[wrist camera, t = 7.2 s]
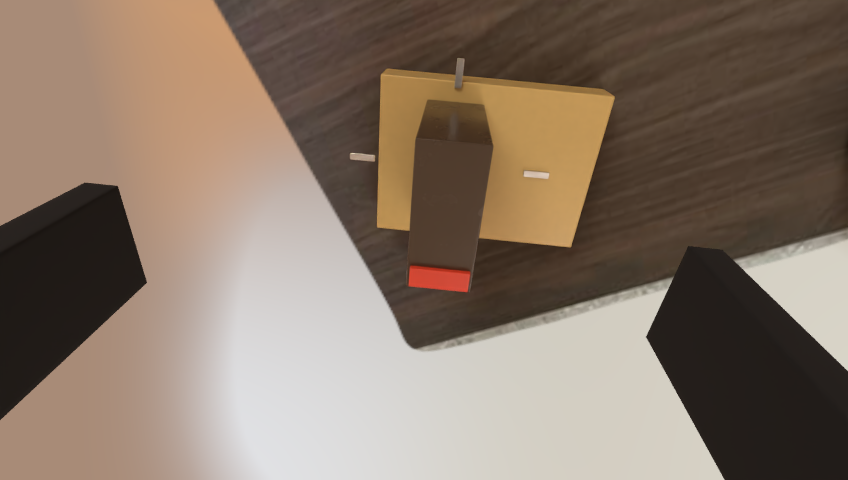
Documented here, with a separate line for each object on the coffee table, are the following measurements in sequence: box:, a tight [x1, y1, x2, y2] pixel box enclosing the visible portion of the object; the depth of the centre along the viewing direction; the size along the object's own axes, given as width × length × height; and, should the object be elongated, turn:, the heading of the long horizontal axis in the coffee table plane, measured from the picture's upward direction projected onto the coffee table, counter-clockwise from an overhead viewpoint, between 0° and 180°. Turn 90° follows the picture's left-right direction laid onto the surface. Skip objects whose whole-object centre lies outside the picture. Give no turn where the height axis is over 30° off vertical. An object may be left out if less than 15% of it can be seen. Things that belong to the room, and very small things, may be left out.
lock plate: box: [350, 58, 615, 247], centre depth 25 cm, size 14×11×2 cm
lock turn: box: [406, 99, 494, 292], centre depth 21 cm, size 7×3×7 cm, turn 176°
